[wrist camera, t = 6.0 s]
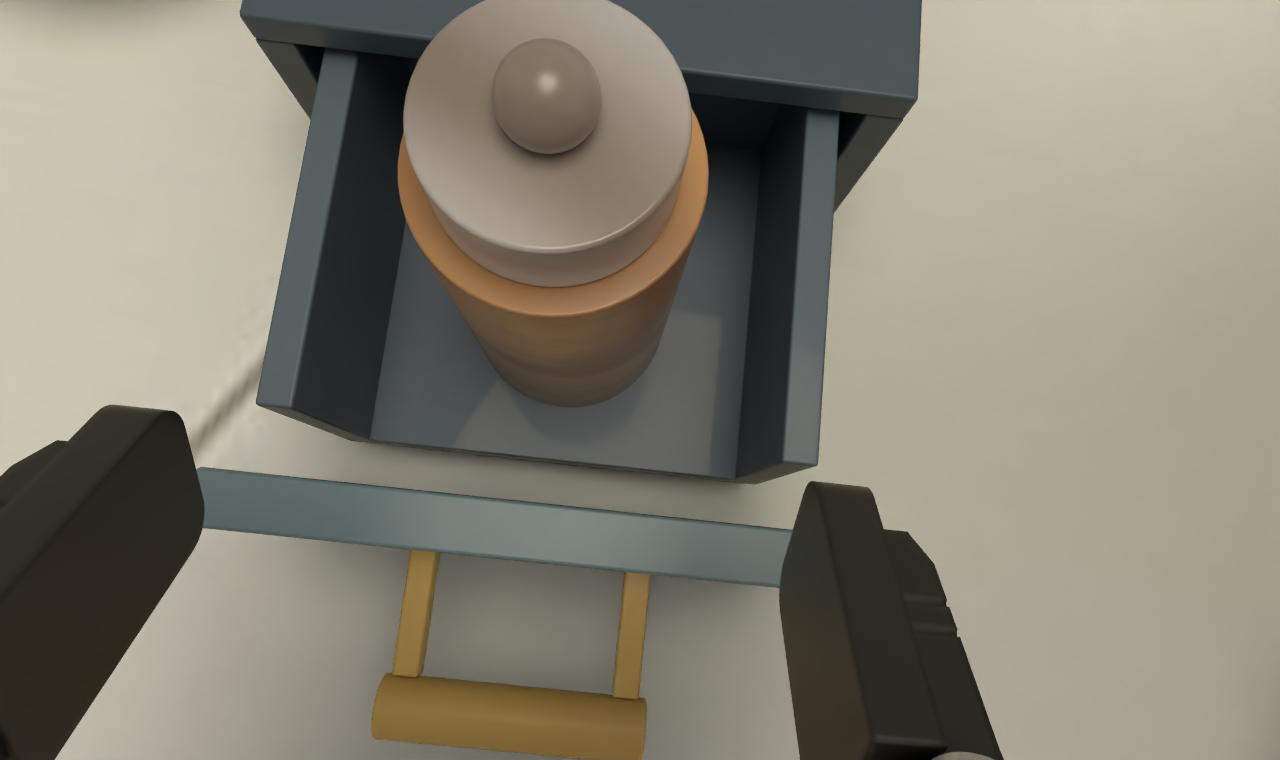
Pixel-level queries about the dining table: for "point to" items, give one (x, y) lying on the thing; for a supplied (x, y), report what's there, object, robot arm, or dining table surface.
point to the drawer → (528, 429)
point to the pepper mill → (554, 188)
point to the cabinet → (693, 33)
